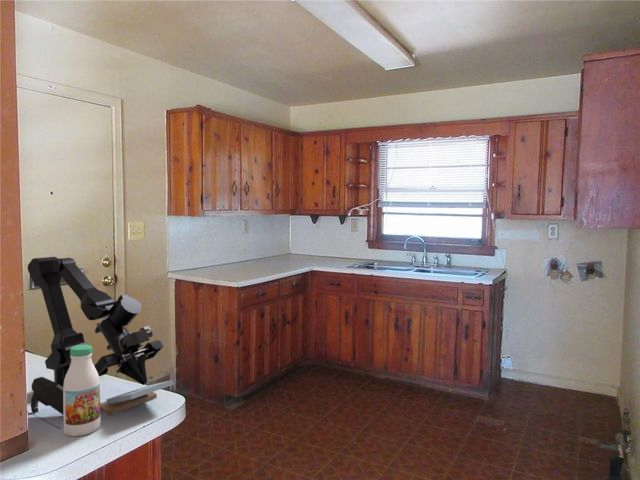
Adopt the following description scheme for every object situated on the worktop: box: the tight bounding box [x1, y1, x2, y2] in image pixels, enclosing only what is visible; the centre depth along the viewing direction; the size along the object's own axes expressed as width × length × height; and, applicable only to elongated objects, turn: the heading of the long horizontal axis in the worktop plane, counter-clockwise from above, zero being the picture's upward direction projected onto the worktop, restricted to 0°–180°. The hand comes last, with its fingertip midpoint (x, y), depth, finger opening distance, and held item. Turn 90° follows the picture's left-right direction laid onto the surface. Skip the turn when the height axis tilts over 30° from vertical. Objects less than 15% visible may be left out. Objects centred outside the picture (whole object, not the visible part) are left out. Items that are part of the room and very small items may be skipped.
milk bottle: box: [62, 344, 101, 437], centre depth 106 cm, size 8×8×20 cm
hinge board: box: [100, 391, 157, 416], centre depth 122 cm, size 6×14×1 cm, turn 144°
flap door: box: [105, 379, 175, 405], centre depth 118 cm, size 2×12×13 cm
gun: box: [30, 376, 63, 415], centre depth 114 cm, size 3×16×10 cm, turn 79°
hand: (145, 383), depth 119 cm, fingers closed
